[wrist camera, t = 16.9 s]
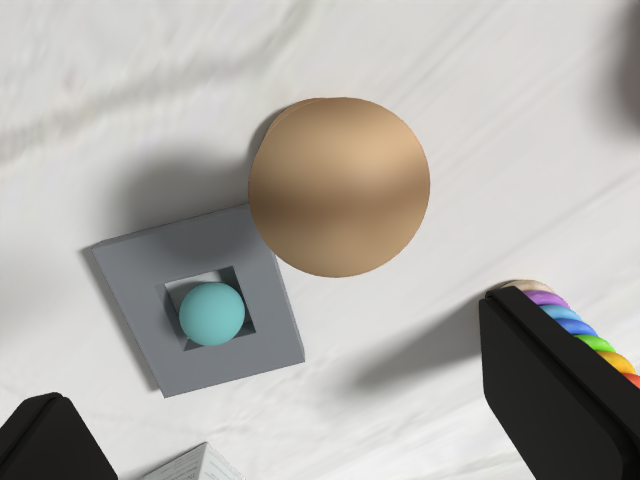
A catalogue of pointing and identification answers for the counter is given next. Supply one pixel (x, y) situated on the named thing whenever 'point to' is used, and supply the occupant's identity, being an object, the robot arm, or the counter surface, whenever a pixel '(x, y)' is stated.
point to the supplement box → (197, 467)
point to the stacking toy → (574, 324)
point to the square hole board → (190, 260)
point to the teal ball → (211, 313)
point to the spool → (338, 186)
